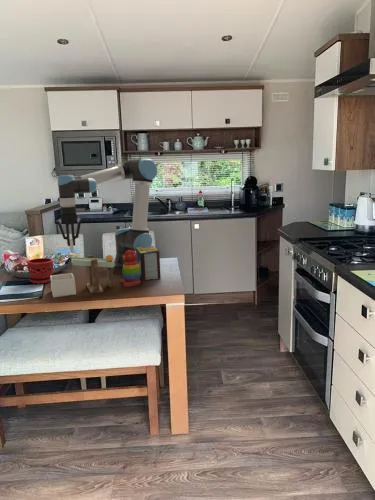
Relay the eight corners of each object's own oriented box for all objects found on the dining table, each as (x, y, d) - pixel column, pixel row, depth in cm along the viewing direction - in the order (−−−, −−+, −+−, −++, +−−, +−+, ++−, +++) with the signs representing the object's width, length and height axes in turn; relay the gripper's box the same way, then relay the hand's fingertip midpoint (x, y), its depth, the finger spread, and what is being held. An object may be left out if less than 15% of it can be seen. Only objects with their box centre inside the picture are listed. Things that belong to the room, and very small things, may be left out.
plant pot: (47, 285, 199) (44, 263, 196) (24, 284, 201) (21, 262, 199) (59, 278, 211) (57, 257, 209) (37, 277, 214) (35, 257, 211)
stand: (109, 282, 202) (107, 252, 198) (115, 290, 188) (113, 258, 185) (86, 285, 197) (84, 255, 194) (90, 293, 184) (88, 261, 180)
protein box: (154, 271, 220) (153, 245, 217) (160, 278, 205) (159, 251, 202) (136, 273, 217) (135, 247, 214) (141, 281, 202) (140, 252, 199)
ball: (110, 261, 194) (113, 255, 194) (112, 263, 191) (114, 256, 191) (104, 260, 192) (106, 253, 192) (105, 261, 189) (107, 254, 189)
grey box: (73, 288, 193) (72, 273, 191) (76, 294, 183) (74, 278, 181) (51, 291, 189) (50, 275, 187) (52, 297, 179) (51, 281, 178)
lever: (107, 261, 206) (107, 255, 205) (114, 269, 189) (114, 262, 189) (67, 259, 198) (67, 252, 197) (71, 267, 181) (71, 260, 180)
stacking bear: (119, 282, 201) (117, 249, 198) (137, 279, 205) (136, 247, 202) (124, 287, 192) (122, 253, 188) (143, 284, 196) (142, 251, 192)
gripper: (80, 204, 197) (84, 249, 201) (53, 206, 192) (58, 251, 197) (82, 206, 190) (85, 252, 195) (54, 207, 185) (59, 254, 190)
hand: (72, 251), depth 196 cm, fingers closed
